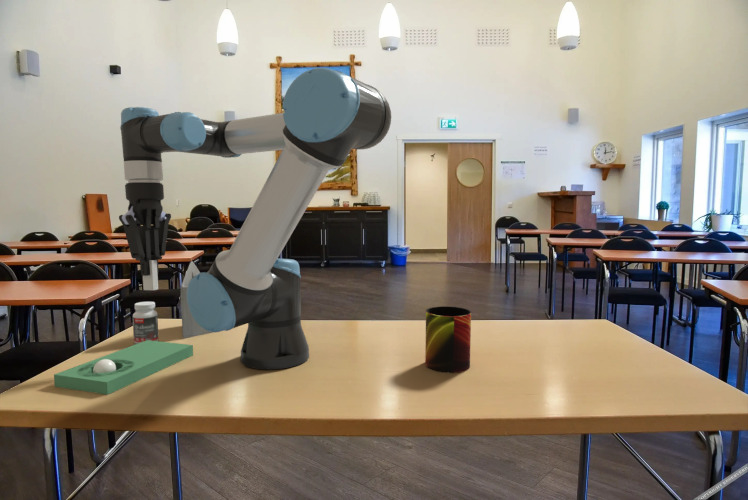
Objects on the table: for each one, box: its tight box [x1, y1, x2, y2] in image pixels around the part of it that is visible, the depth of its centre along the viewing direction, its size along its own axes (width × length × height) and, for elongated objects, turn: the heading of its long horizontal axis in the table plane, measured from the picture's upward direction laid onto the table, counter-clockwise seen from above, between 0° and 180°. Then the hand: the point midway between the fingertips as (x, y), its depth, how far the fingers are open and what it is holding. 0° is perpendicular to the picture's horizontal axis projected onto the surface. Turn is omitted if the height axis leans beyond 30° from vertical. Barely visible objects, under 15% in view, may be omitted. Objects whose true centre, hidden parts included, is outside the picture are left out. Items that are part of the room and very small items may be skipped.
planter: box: [180, 260, 213, 339], centre depth 132 cm, size 16×8×19 cm, turn 1°
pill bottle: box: [132, 301, 159, 344], centre depth 122 cm, size 6×6×10 cm
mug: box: [424, 305, 472, 374], centre depth 106 cm, size 10×14×12 cm
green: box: [53, 340, 194, 395], centre depth 102 cm, size 24×13×2 cm, turn 162°
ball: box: [93, 359, 116, 373], centre depth 96 cm, size 4×4×4 cm
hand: (151, 289), depth 107 cm, fingers closed
